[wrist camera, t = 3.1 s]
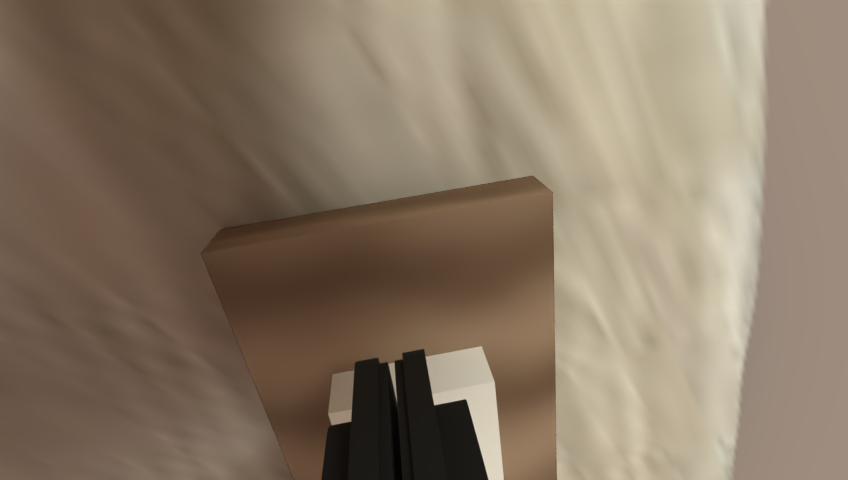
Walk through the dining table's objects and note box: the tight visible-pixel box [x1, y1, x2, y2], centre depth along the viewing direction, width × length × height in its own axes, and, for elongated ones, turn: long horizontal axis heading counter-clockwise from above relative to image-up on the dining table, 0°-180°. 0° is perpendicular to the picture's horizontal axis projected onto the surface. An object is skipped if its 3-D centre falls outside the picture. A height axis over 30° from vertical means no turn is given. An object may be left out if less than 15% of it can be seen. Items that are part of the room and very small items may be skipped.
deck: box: [201, 176, 557, 480], centre depth 19 cm, size 16×12×2 cm
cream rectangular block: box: [328, 346, 504, 480], centre depth 18 cm, size 9×6×2 cm, turn 9°
